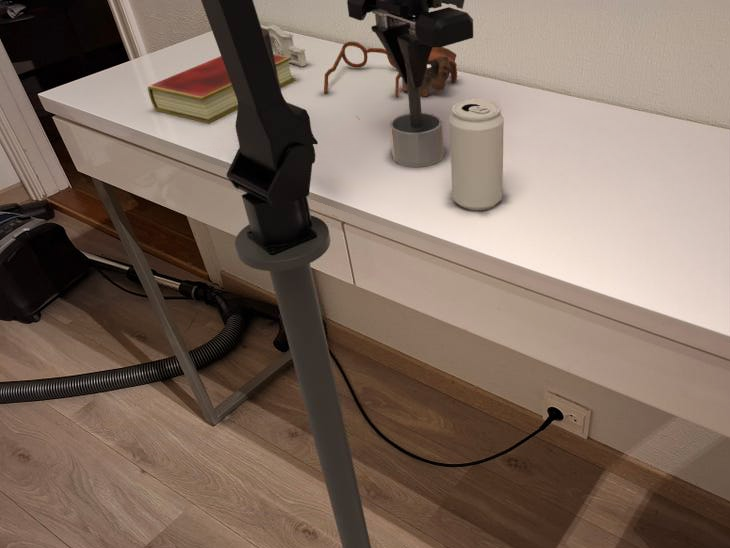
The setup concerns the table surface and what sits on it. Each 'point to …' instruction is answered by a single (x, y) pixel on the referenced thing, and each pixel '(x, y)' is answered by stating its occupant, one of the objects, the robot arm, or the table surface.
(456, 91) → the table surface
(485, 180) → the beverage can
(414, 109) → the rod
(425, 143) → the pen pot
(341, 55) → the glasses
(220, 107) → the hardcover book
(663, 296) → the table surface
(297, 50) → the garden wall model
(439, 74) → the brown jagged blocky figurine
